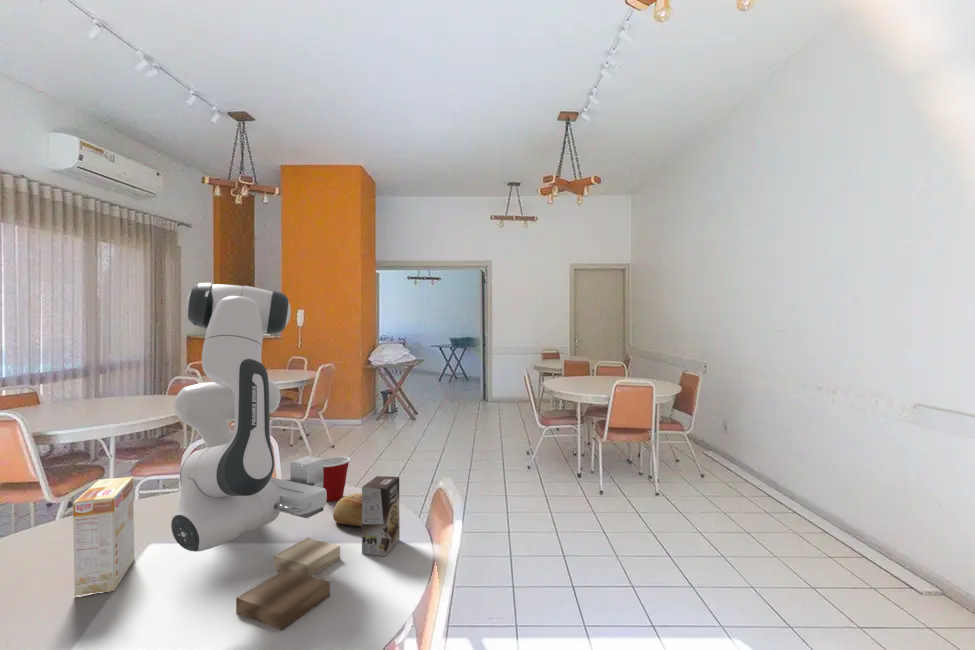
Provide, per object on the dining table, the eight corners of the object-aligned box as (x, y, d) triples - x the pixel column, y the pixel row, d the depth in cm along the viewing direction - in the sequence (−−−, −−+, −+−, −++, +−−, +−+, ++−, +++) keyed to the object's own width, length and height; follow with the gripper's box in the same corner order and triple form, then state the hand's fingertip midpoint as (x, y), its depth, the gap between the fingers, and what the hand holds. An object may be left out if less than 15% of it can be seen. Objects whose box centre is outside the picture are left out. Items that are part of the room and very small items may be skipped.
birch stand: (274, 569, 111) (274, 555, 111) (307, 550, 120) (307, 537, 120) (307, 579, 106) (307, 565, 106) (340, 558, 115) (340, 545, 115)
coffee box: (386, 556, 116) (386, 488, 116) (360, 554, 118) (360, 486, 117) (400, 539, 125) (400, 476, 125) (376, 537, 127) (376, 474, 126)
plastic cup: (331, 490, 161) (330, 453, 161) (357, 495, 157) (357, 457, 157) (306, 501, 151) (306, 462, 151) (334, 507, 147) (333, 466, 147)
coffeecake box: (98, 564, 113) (97, 479, 113) (136, 558, 116) (135, 475, 115) (72, 599, 99) (70, 502, 99) (115, 591, 102) (113, 497, 101)
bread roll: (373, 535, 128) (373, 504, 128) (323, 528, 132) (323, 498, 132) (391, 520, 137) (391, 492, 137) (344, 514, 142) (344, 486, 142)
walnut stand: (236, 613, 94) (236, 597, 94) (286, 582, 105) (286, 568, 105) (282, 630, 89) (282, 613, 89) (329, 596, 100) (329, 581, 100)
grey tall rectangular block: (290, 514, 112) (290, 461, 112) (307, 506, 116) (307, 456, 116) (306, 518, 110) (307, 464, 109) (323, 510, 114) (323, 458, 114)
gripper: (296, 496, 97) (345, 475, 109) (225, 480, 105) (278, 463, 118) (296, 528, 97) (345, 504, 109) (225, 510, 106) (278, 489, 118)
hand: (310, 482), depth 114 cm, fingers closed on grey tall rectangular block, 5 cm apart
